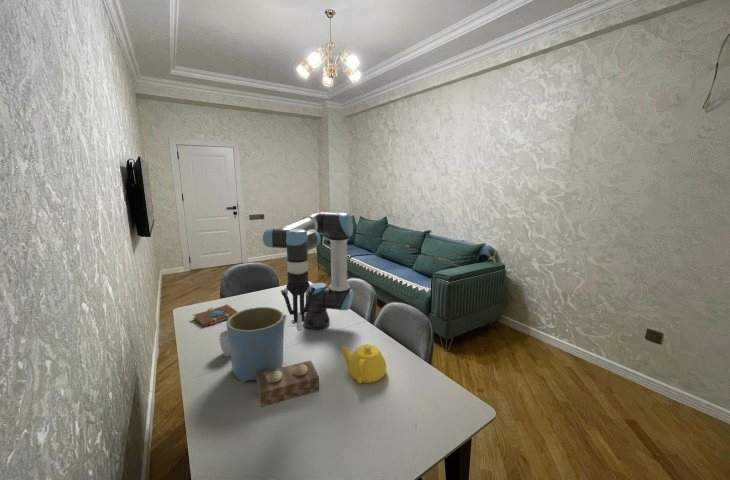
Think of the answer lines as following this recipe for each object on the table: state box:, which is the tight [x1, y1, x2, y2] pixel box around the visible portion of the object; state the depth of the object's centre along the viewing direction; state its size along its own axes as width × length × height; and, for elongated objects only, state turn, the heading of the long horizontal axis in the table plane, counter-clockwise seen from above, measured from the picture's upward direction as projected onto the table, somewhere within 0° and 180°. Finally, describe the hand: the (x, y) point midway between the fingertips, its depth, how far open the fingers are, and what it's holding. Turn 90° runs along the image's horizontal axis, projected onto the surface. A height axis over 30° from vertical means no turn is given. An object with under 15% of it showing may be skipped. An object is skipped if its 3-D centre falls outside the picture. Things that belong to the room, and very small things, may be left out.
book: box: [192, 303, 238, 328], centre depth 181 cm, size 16×25×5 cm, turn 140°
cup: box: [218, 329, 231, 357], centre depth 143 cm, size 8×8×10 cm
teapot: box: [341, 344, 387, 384], centre depth 130 cm, size 20×19×13 cm
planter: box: [225, 306, 285, 383], centre depth 131 cm, size 23×23×24 cm
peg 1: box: [266, 371, 282, 384], centre depth 118 cm, size 6×6×7 cm
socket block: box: [256, 360, 320, 408], centre depth 120 cm, size 22×12×6 cm, turn 115°
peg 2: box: [293, 365, 308, 377], centre depth 122 cm, size 6×6×7 cm
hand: (299, 329), depth 118 cm, fingers closed
